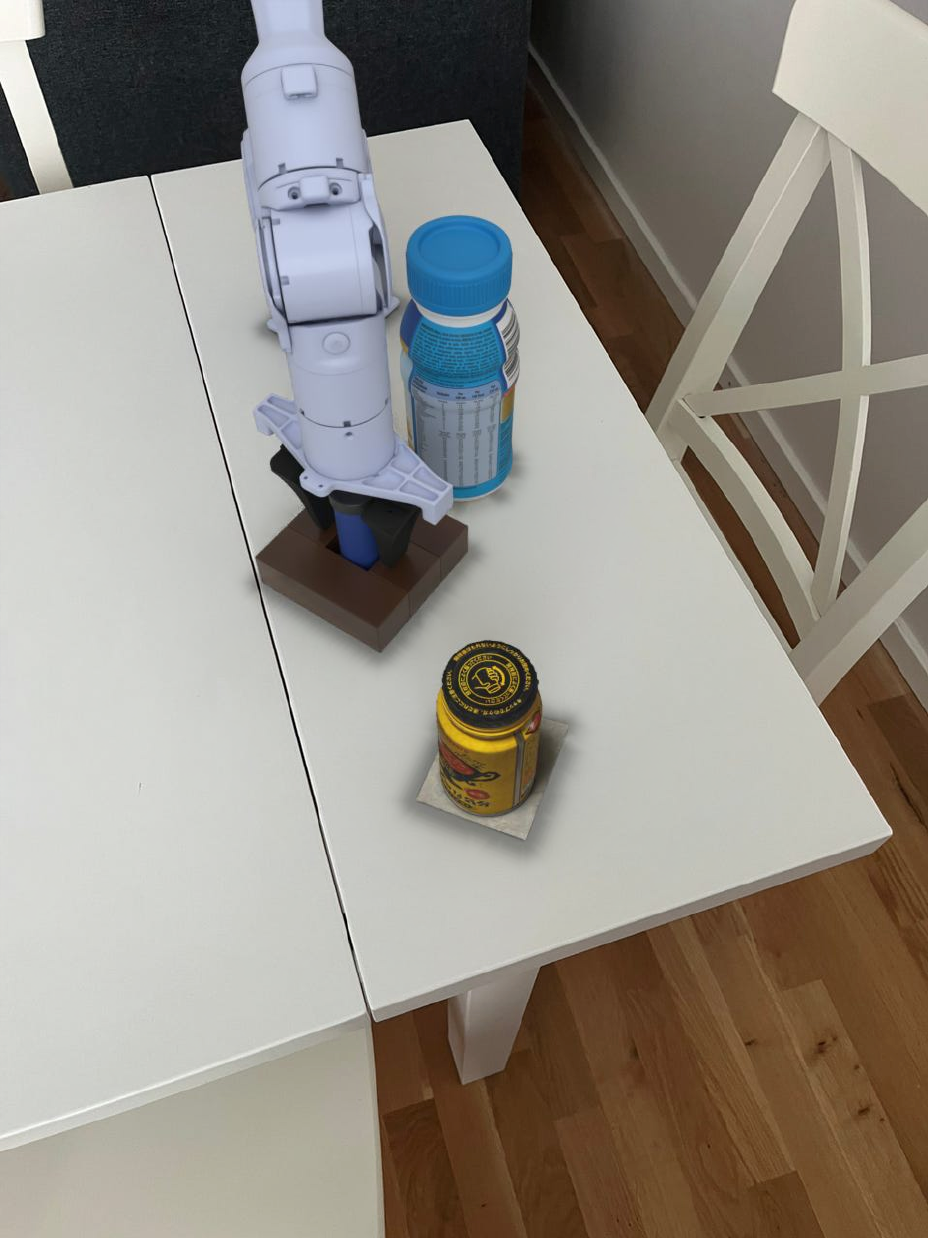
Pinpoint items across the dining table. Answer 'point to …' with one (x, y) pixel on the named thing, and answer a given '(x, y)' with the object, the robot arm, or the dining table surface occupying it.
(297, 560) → the holder
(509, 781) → the condiment
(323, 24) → the robot arm
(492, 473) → the beverage bottle
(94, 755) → the dining table surface
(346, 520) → the blue cylinder
